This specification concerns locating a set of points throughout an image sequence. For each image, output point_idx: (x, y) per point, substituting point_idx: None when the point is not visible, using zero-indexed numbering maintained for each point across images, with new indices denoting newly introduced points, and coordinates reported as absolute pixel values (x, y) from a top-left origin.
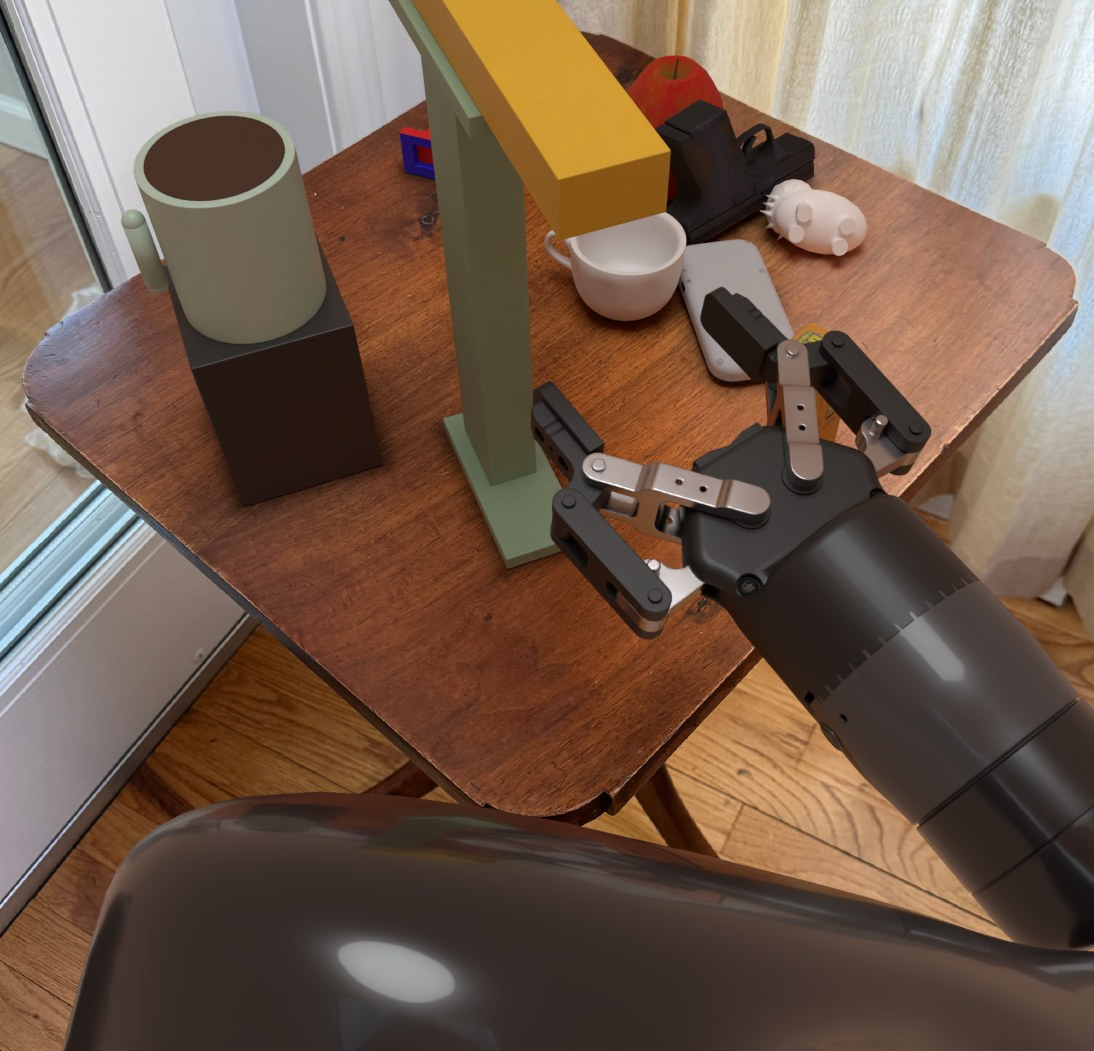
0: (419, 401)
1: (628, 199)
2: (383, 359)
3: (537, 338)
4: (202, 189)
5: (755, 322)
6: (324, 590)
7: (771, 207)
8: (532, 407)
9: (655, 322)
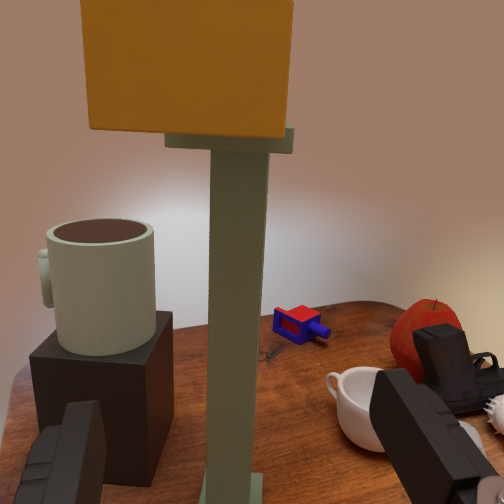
0: (202, 451)
1: (212, 84)
2: (199, 416)
3: (300, 439)
4: (74, 237)
5: (443, 428)
6: None
7: (492, 408)
8: (46, 428)
9: (388, 459)
